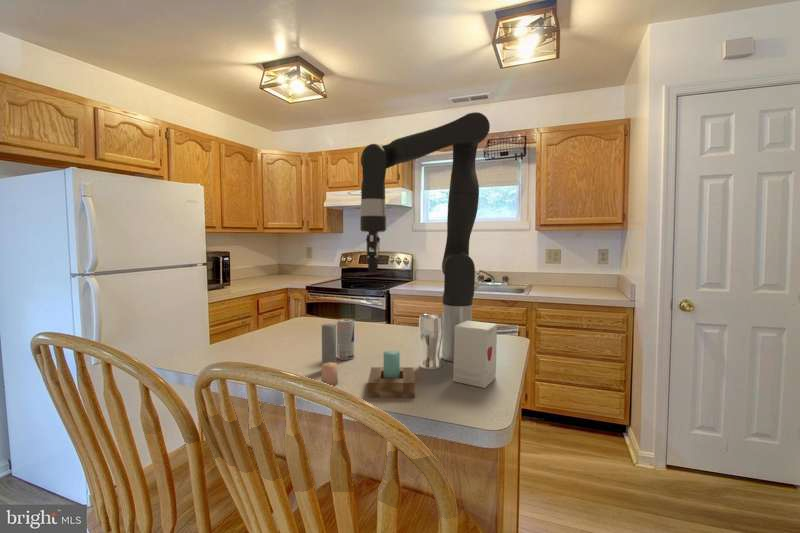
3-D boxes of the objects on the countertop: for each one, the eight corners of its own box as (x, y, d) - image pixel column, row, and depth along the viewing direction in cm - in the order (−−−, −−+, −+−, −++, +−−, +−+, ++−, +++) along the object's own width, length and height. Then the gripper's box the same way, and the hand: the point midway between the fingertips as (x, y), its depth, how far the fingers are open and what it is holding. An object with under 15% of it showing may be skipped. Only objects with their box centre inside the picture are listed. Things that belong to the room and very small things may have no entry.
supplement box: (485, 389, 95) (486, 329, 94) (452, 382, 99) (453, 325, 98) (496, 378, 102) (498, 323, 101) (465, 372, 107) (466, 319, 106)
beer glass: (444, 364, 114) (445, 314, 113) (439, 371, 107) (439, 319, 106) (422, 361, 116) (422, 313, 115) (415, 368, 110) (415, 317, 109)
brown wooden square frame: (413, 380, 100) (413, 367, 100) (414, 397, 89) (414, 382, 89) (371, 380, 100) (371, 367, 100) (368, 397, 89) (367, 382, 89)
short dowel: (338, 381, 100) (338, 362, 99) (336, 386, 96) (336, 367, 95) (323, 381, 100) (323, 362, 99) (320, 386, 96) (320, 367, 95)
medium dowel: (399, 385, 97) (399, 350, 96) (399, 391, 93) (399, 355, 92) (383, 385, 97) (383, 350, 96) (383, 391, 93) (383, 355, 92)
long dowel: (337, 368, 110) (337, 323, 109) (335, 373, 106) (334, 326, 105) (323, 368, 110) (323, 323, 109) (320, 373, 106) (320, 326, 105)
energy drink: (355, 355, 122) (355, 318, 121) (352, 360, 117) (352, 322, 116) (339, 355, 122) (339, 318, 122) (335, 360, 117) (334, 321, 116)
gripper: (385, 213, 105) (384, 272, 106) (386, 217, 119) (386, 268, 120) (357, 213, 105) (358, 272, 106) (362, 217, 119) (362, 268, 120)
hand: (373, 270), depth 113 cm, fingers open, 8 cm apart
